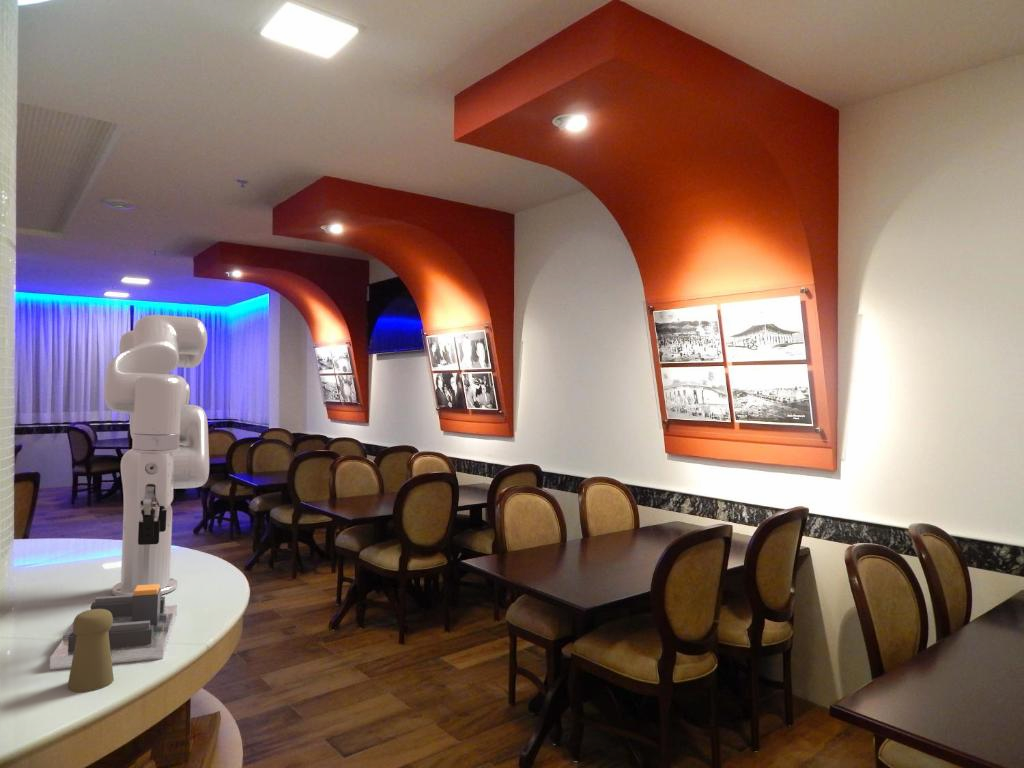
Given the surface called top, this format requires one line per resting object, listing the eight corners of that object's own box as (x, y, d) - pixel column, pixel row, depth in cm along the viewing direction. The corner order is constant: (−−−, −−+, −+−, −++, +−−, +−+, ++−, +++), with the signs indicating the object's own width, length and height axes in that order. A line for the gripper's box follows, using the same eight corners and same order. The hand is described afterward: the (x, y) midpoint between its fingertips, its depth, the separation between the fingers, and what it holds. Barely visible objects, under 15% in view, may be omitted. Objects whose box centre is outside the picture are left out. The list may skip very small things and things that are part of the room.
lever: (135, 622, 122) (136, 585, 122) (159, 620, 123) (161, 583, 123) (131, 630, 118) (132, 591, 118) (156, 627, 120) (158, 589, 120)
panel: (82, 622, 127) (83, 608, 127) (176, 615, 133) (177, 601, 133) (49, 669, 106) (50, 652, 106) (162, 658, 112) (163, 641, 112)
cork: (91, 694, 99) (94, 619, 99) (57, 689, 100) (59, 615, 100) (123, 677, 105) (125, 607, 105) (90, 672, 106) (92, 603, 106)
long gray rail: (93, 614, 126) (93, 596, 126) (164, 608, 130) (165, 591, 130) (67, 651, 109) (68, 630, 109) (151, 643, 113) (151, 623, 113)
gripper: (173, 448, 115) (170, 548, 115) (183, 439, 131) (180, 526, 131) (123, 448, 112) (119, 550, 112) (140, 438, 128) (136, 528, 128)
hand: (152, 537), depth 121 cm, fingers open, 9 cm apart
